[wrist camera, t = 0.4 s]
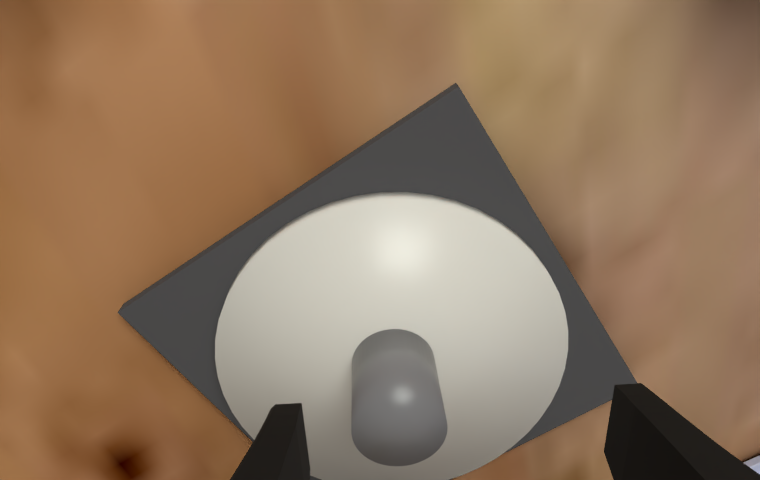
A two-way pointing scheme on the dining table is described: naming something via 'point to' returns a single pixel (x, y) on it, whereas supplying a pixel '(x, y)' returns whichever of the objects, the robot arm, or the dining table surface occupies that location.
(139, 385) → the dining table surface
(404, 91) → the dining table surface
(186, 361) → the rubber mat
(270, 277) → the white lid
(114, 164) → the dining table surface
